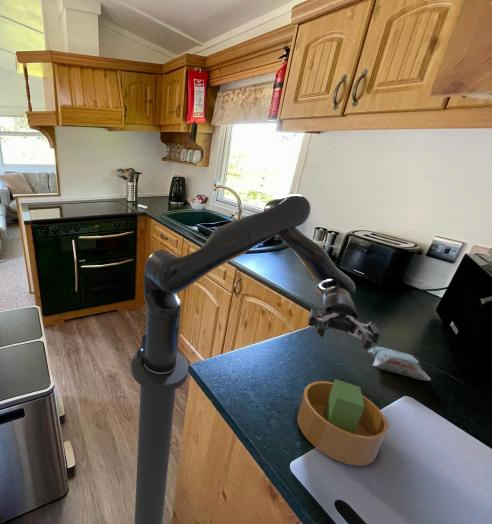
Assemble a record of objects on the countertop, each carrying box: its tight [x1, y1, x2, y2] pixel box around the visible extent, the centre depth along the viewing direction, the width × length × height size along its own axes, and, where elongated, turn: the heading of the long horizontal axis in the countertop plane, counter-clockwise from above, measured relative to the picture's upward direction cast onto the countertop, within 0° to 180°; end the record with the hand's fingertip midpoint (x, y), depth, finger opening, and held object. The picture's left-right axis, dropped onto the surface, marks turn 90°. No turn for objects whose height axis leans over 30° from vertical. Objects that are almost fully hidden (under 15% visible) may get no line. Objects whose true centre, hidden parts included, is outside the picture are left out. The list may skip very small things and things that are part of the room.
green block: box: [323, 378, 364, 434], centre depth 59 cm, size 4×6×10 cm
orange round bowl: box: [296, 380, 389, 467], centre depth 60 cm, size 14×14×7 cm
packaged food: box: [367, 346, 432, 382], centre depth 80 cm, size 9×12×5 cm
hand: (344, 339), depth 66 cm, fingers open, 8 cm apart
